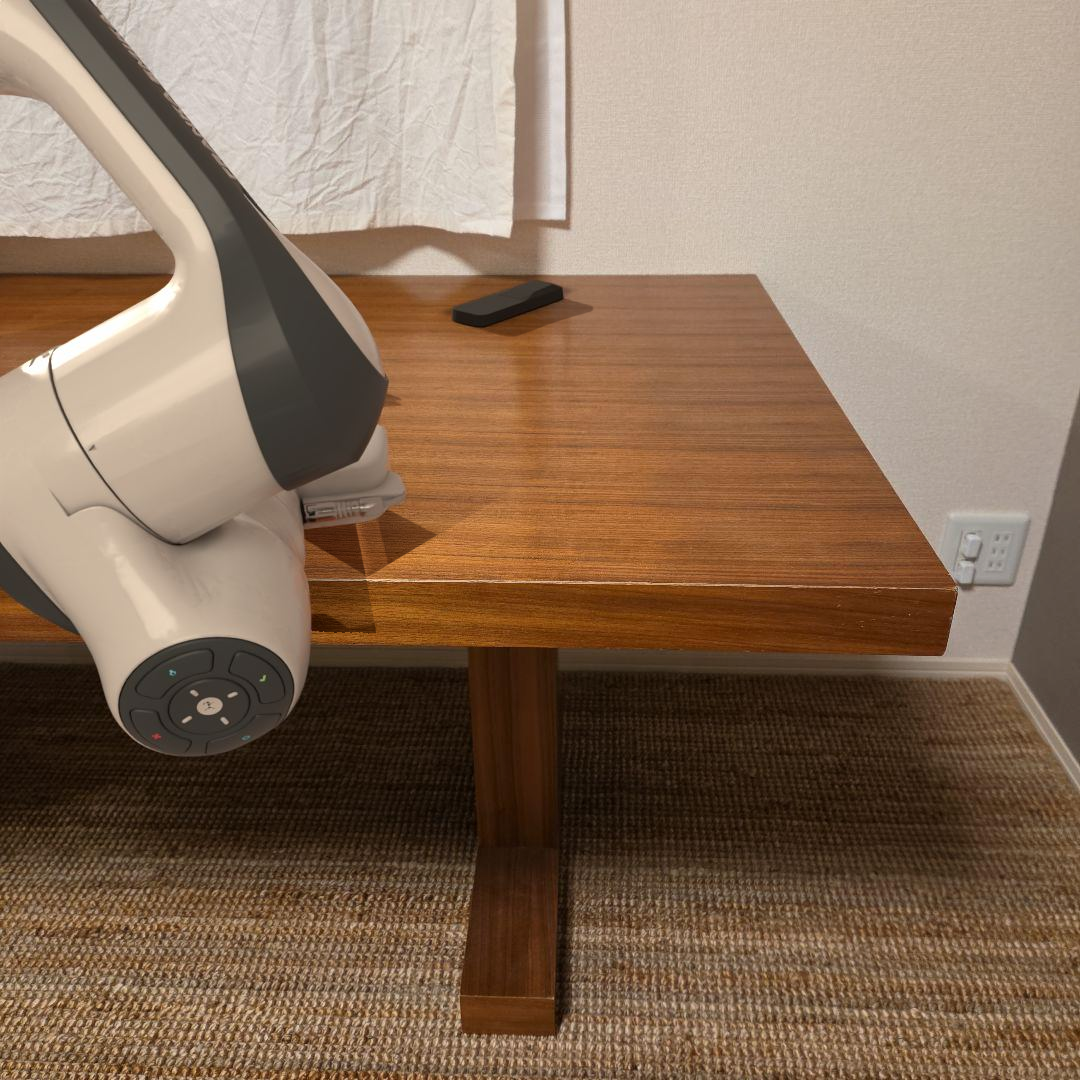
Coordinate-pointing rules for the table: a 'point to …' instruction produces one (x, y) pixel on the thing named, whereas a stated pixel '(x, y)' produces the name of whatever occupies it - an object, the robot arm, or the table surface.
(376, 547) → the table surface
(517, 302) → the remote control
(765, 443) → the table surface
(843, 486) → the table surface
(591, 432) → the table surface
